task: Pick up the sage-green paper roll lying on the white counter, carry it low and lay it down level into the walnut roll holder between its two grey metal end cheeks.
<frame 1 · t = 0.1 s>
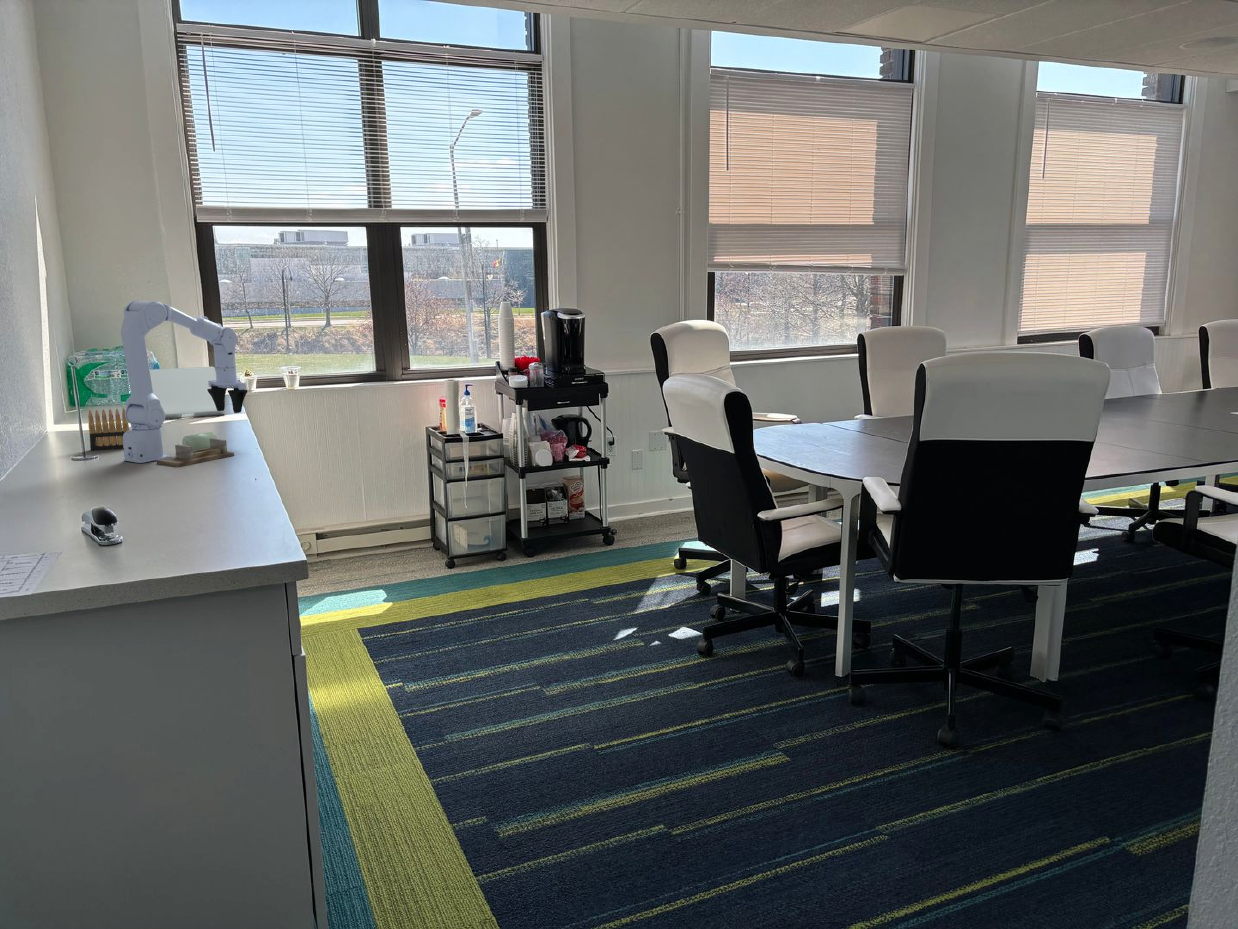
hand: (229, 411, 280), 10 cm above the table, fingers open, 7 cm apart
roll: (200, 451, 270), on the table
tablet stand: (185, 416, 338), on the table
ammunition clip: (111, 449, 273), on the table
holder: (202, 458, 259), on the table
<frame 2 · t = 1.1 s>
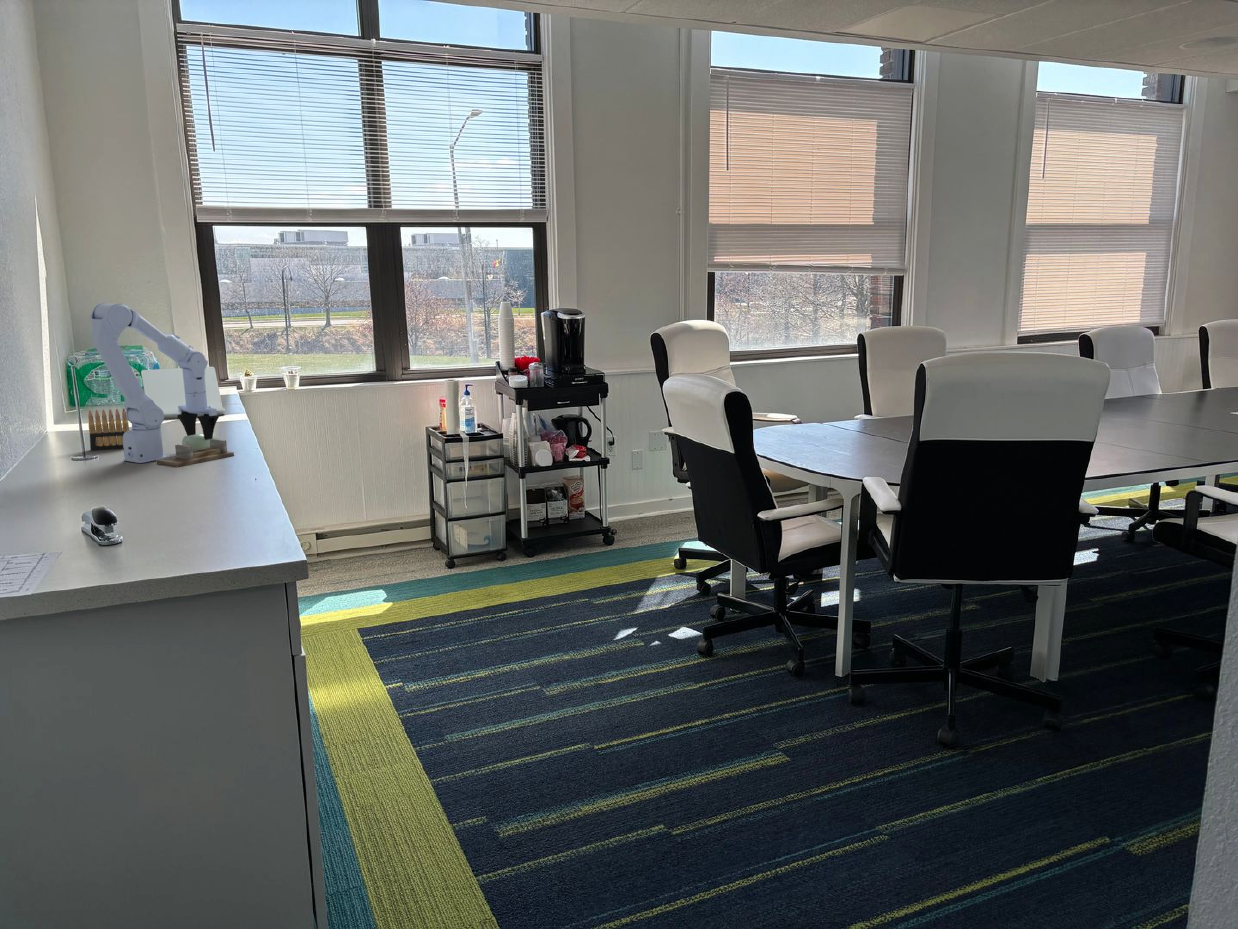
hand: (200, 438, 269), 4 cm above the table, fingers open, 7 cm apart
nothing on the table moved.
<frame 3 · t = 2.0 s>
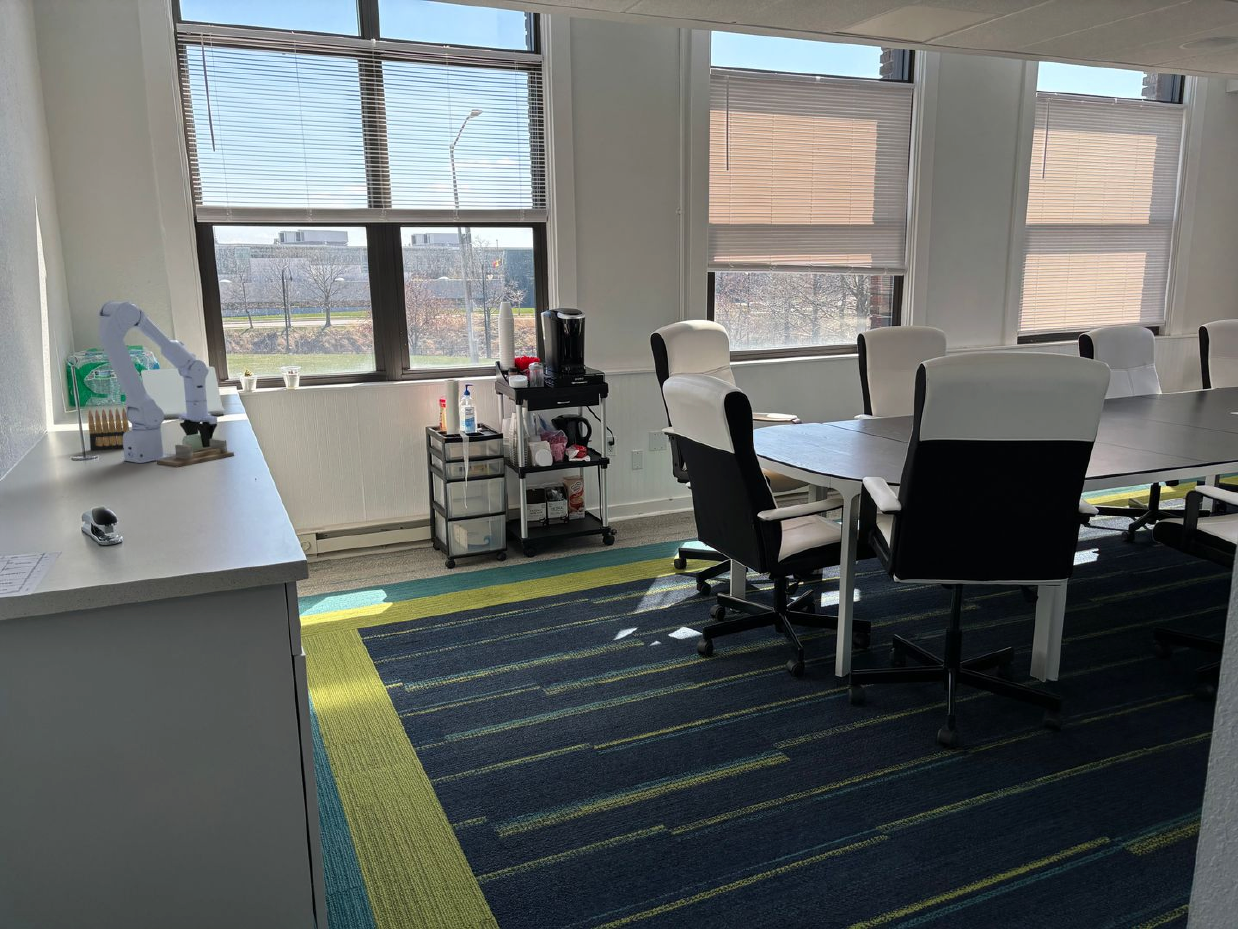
hand: (200, 446, 270), 1 cm above the table, fingers closed on roll, 5 cm apart
roll: (200, 451, 270), on the table, touching gripper
everything else where it was.
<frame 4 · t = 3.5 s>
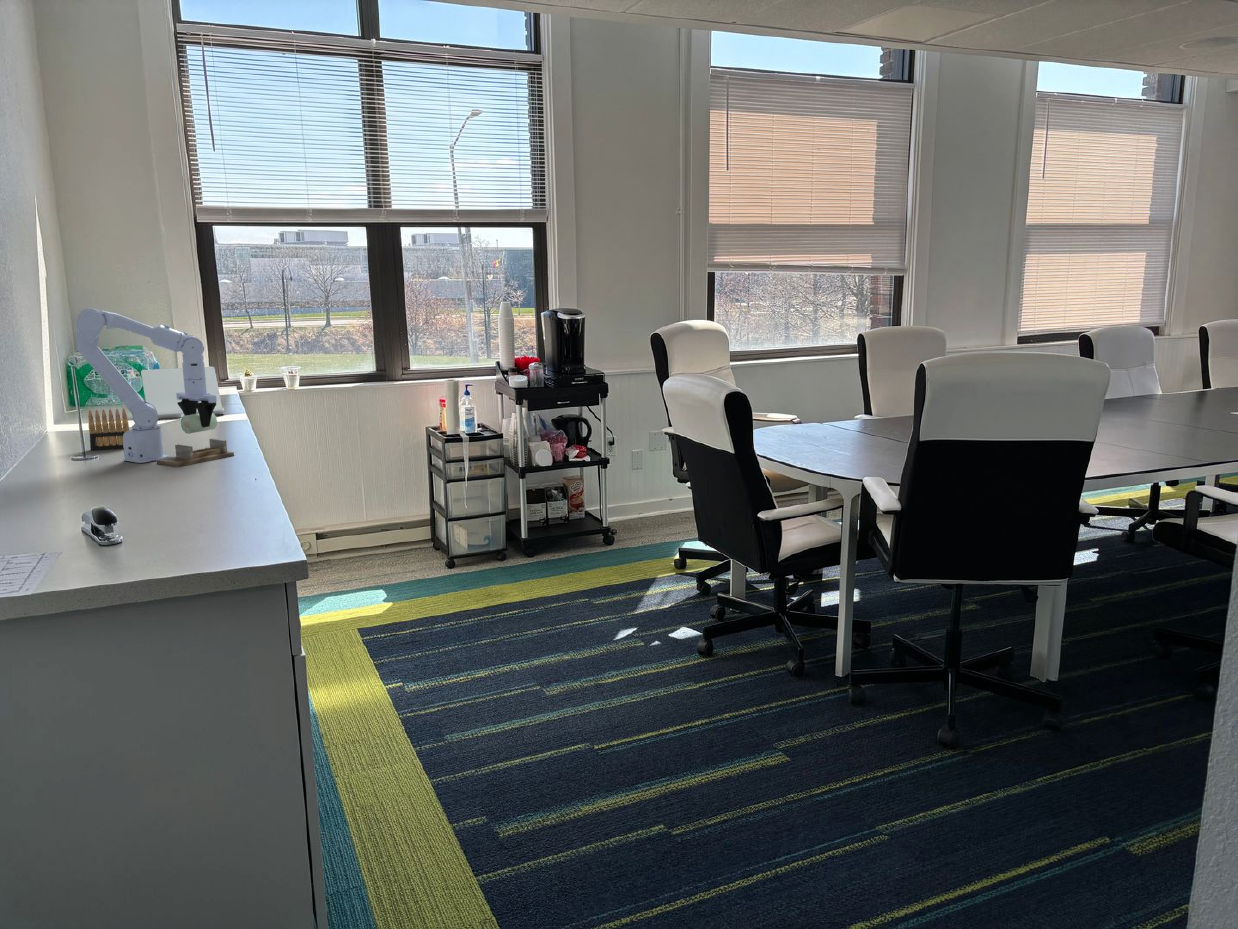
hand: (199, 426, 263), 8 cm above the table, fingers closed on roll, 5 cm apart
roll: (199, 431, 263), point 7 cm above the table, touching gripper
everything else where it was.
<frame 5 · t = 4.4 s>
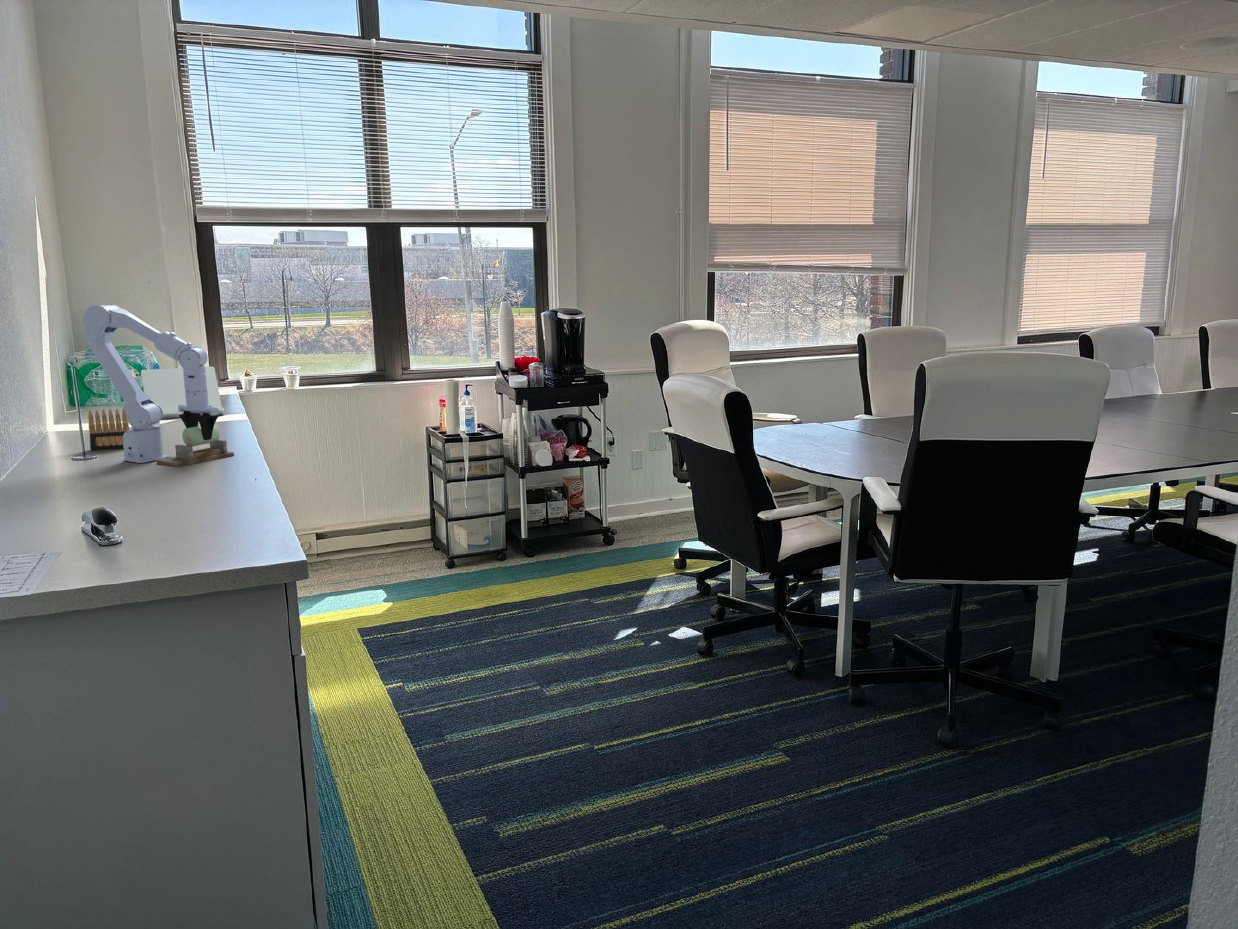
hand: (200, 438, 258), 6 cm above the table, fingers closed on roll, 5 cm apart
roll: (201, 444, 259), point 4 cm above the table, touching gripper
everything else where it was.
when the fingers open (4 cm above the table, at t = 5.2 s): roll stays where it is, resting on holder.
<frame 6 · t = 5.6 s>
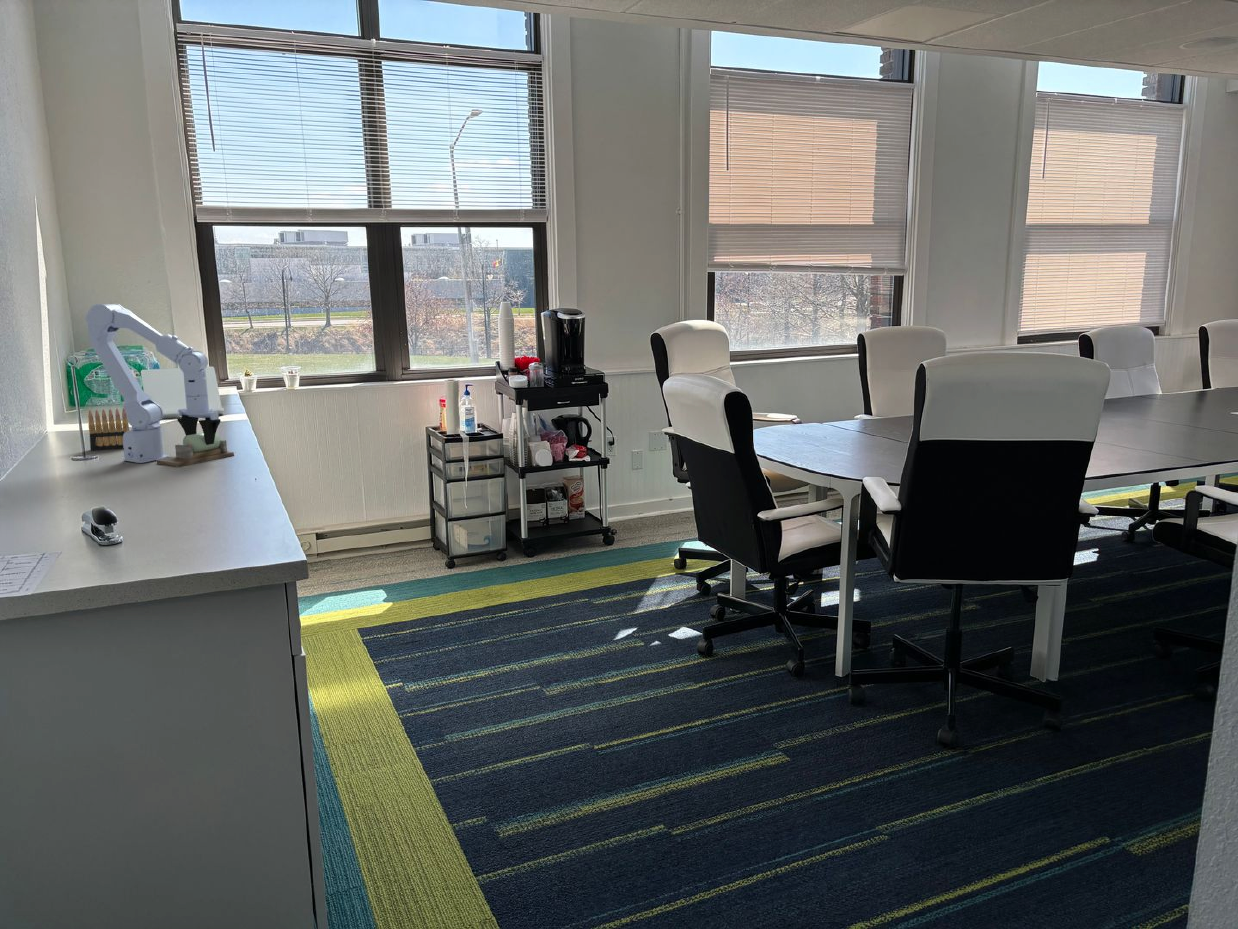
hand: (201, 443, 258), 4 cm above the table, fingers open, 7 cm apart
roll: (202, 451, 259), point 2 cm above the table, touching holder
everything else where it was.
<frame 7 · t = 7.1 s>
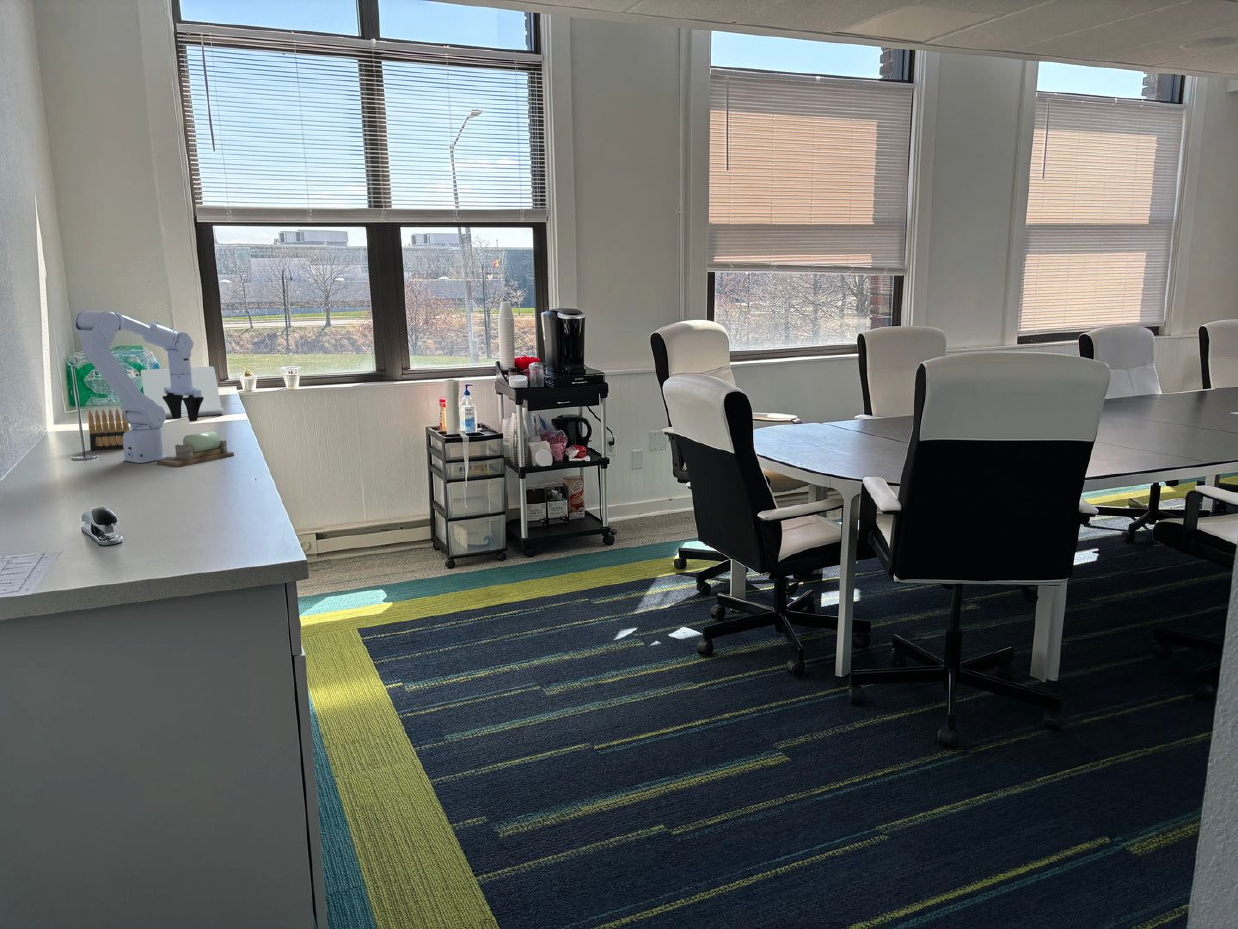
hand: (185, 419, 268), 9 cm above the table, fingers open, 7 cm apart
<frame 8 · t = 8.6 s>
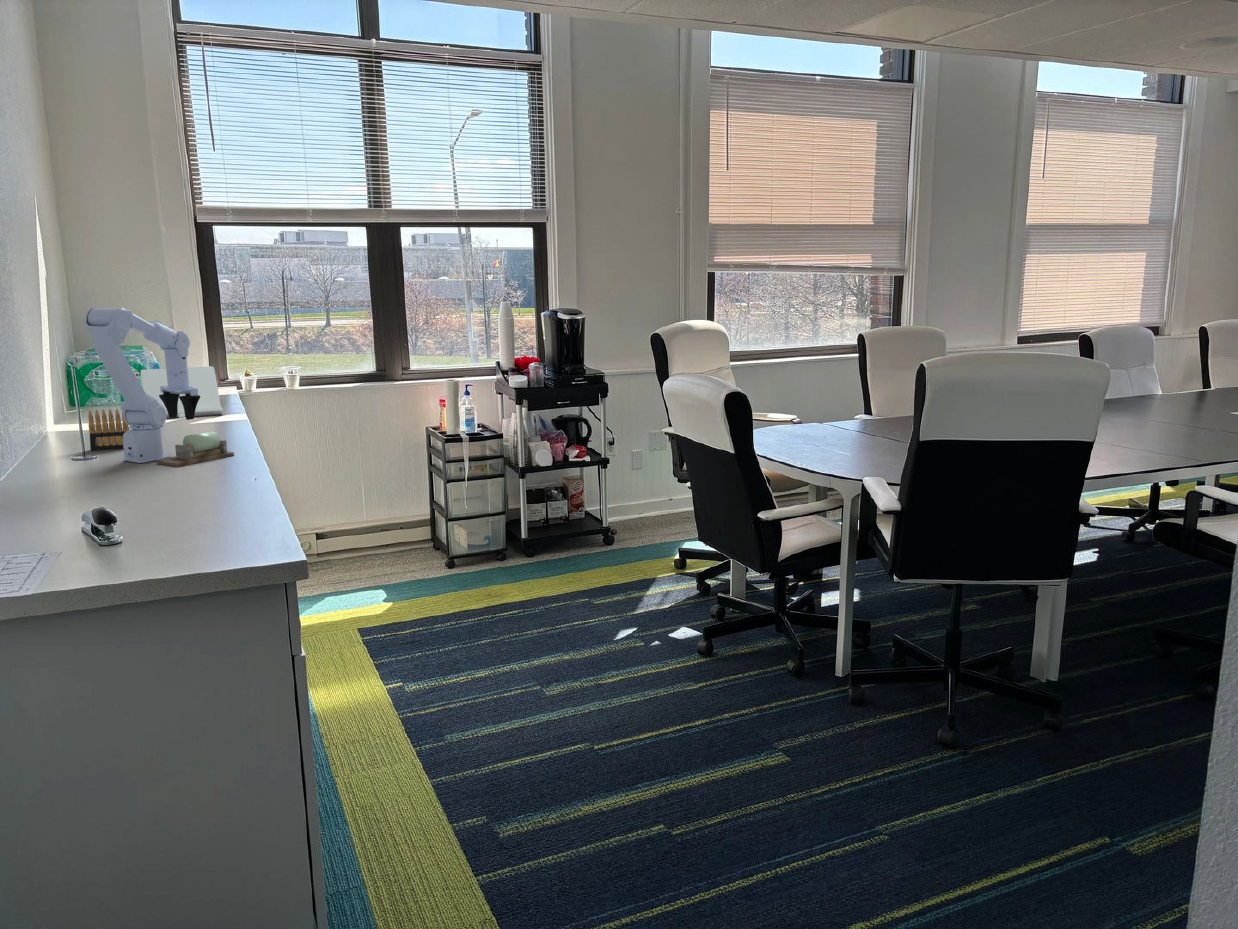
hand: (181, 418, 270), 9 cm above the table, fingers open, 7 cm apart
at the end: roll 0.2 cm off-centre on the holder, point 2.0 cm above the holder's base; roll touching holder; the gripper is holding nothing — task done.
